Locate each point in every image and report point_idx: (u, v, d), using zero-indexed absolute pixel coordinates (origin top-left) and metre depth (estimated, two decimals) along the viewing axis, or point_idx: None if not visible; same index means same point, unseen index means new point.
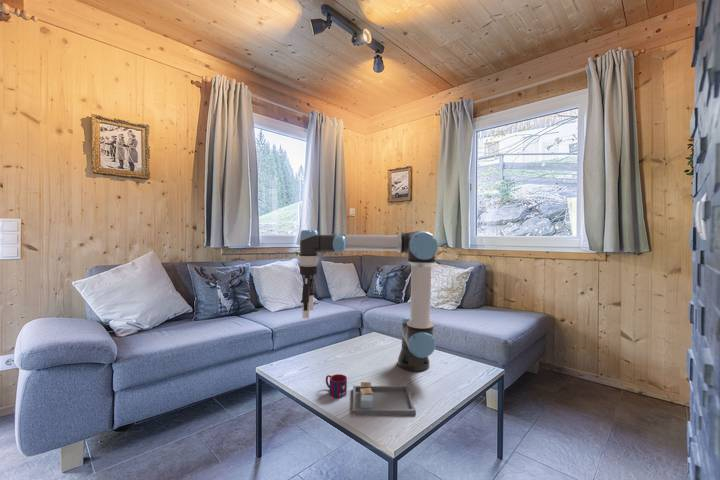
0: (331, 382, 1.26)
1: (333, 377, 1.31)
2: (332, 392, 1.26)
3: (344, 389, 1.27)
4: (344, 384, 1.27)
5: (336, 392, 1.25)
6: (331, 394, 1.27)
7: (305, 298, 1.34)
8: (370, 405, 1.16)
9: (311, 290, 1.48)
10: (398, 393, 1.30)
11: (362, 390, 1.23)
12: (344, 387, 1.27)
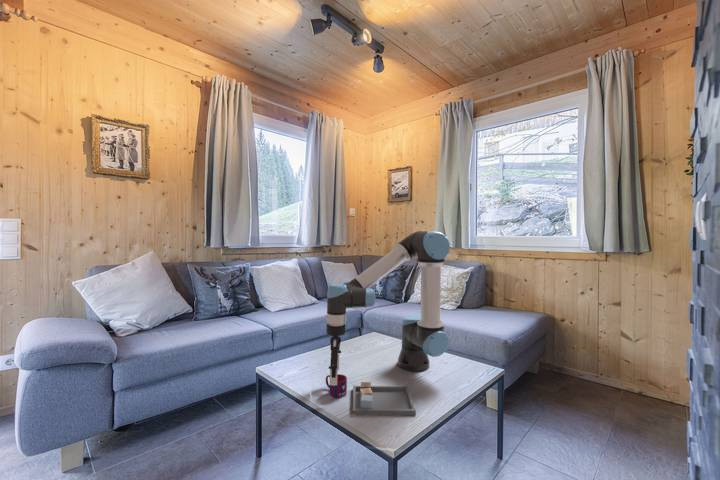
0: None
1: None
2: (332, 392, 1.26)
3: (344, 389, 1.27)
4: (344, 384, 1.27)
5: (336, 392, 1.25)
6: (331, 394, 1.27)
7: (334, 365, 1.20)
8: (370, 405, 1.16)
9: None
10: (398, 393, 1.30)
11: (362, 390, 1.23)
12: (344, 387, 1.27)
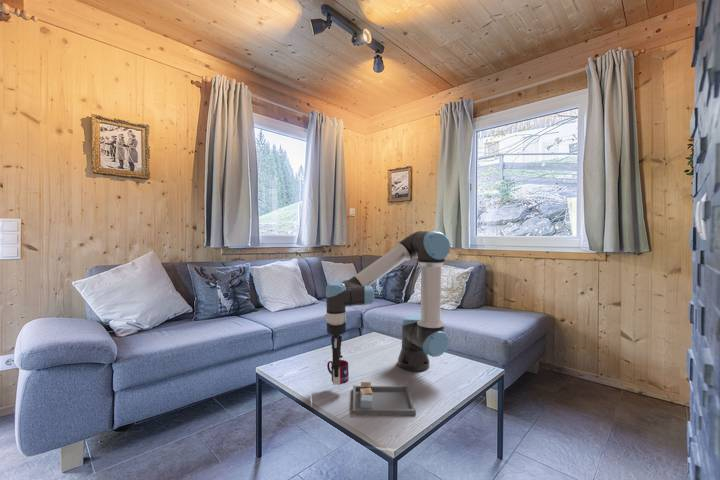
0: None
1: None
2: None
3: (346, 374, 1.28)
4: (346, 369, 1.27)
5: None
6: None
7: (336, 365, 1.23)
8: (370, 405, 1.16)
9: (338, 351, 1.33)
10: (398, 393, 1.30)
11: (362, 390, 1.23)
12: (346, 372, 1.28)
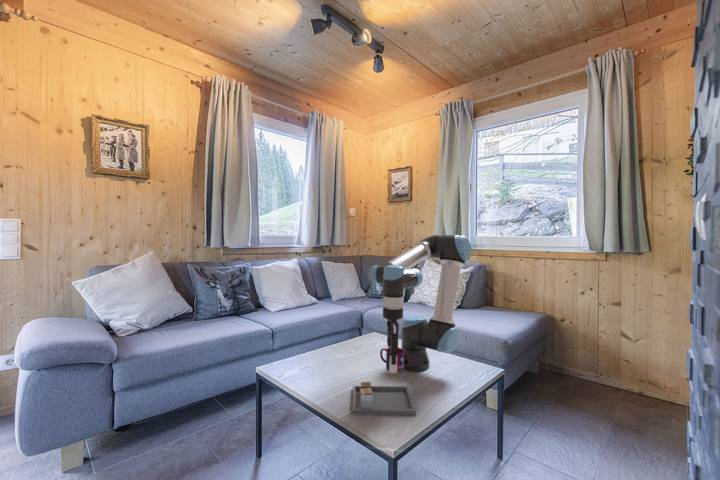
0: None
1: (389, 350, 1.24)
2: None
3: (402, 362, 1.20)
4: (402, 356, 1.20)
5: None
6: None
7: (395, 352, 1.15)
8: (370, 405, 1.16)
9: None
10: (398, 393, 1.30)
11: (362, 390, 1.23)
12: (402, 360, 1.20)
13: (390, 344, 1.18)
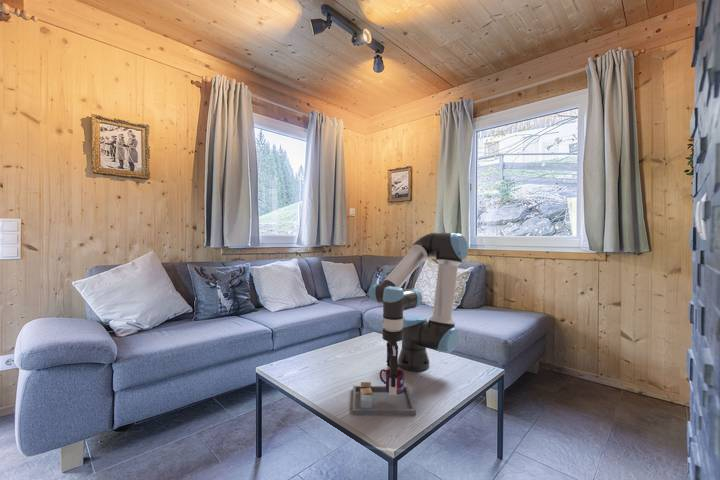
0: None
1: (388, 371, 1.25)
2: None
3: (402, 384, 1.21)
4: (402, 378, 1.20)
5: None
6: (388, 389, 1.20)
7: (395, 374, 1.16)
8: (370, 405, 1.16)
9: None
10: None
11: (362, 390, 1.23)
12: (402, 381, 1.21)
13: (390, 366, 1.18)
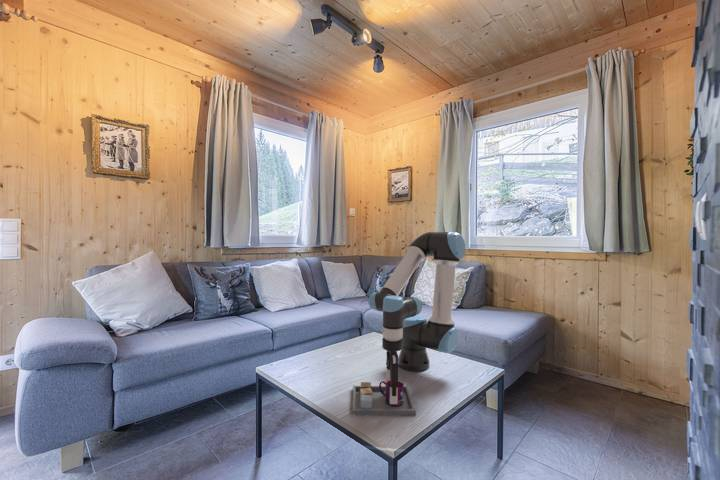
0: (389, 389, 1.20)
1: (388, 383, 1.25)
2: None
3: (402, 396, 1.21)
4: (402, 390, 1.21)
5: None
6: (388, 401, 1.20)
7: (396, 383, 1.14)
8: (370, 405, 1.16)
9: None
10: None
11: (362, 390, 1.23)
12: (402, 394, 1.21)
13: (390, 375, 1.17)
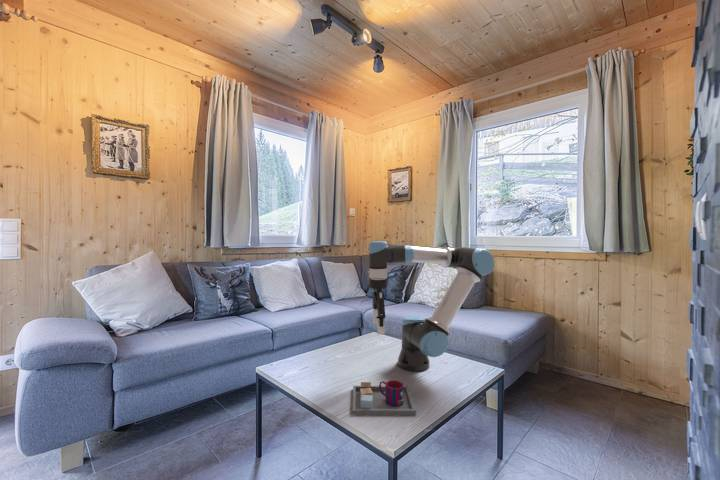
0: (389, 389, 1.20)
1: (388, 383, 1.25)
2: (390, 399, 1.20)
3: (402, 396, 1.21)
4: (402, 390, 1.21)
5: (394, 399, 1.20)
6: (388, 401, 1.20)
7: (383, 314, 1.27)
8: (370, 405, 1.16)
9: None
10: None
11: (362, 390, 1.23)
12: (402, 394, 1.21)
13: (377, 308, 1.31)
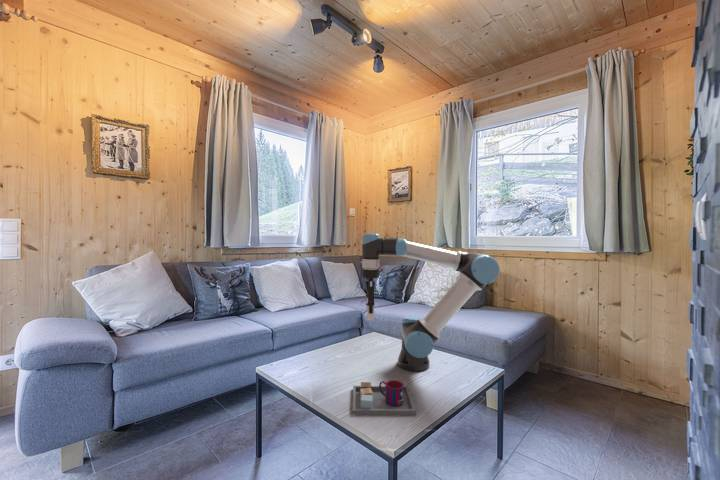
0: (389, 389, 1.20)
1: (388, 383, 1.25)
2: (390, 399, 1.20)
3: (402, 396, 1.21)
4: (402, 390, 1.21)
5: (394, 399, 1.20)
6: (388, 401, 1.20)
7: (372, 301, 1.35)
8: (370, 405, 1.16)
9: None
10: None
11: (362, 390, 1.23)
12: (402, 394, 1.21)
13: None
